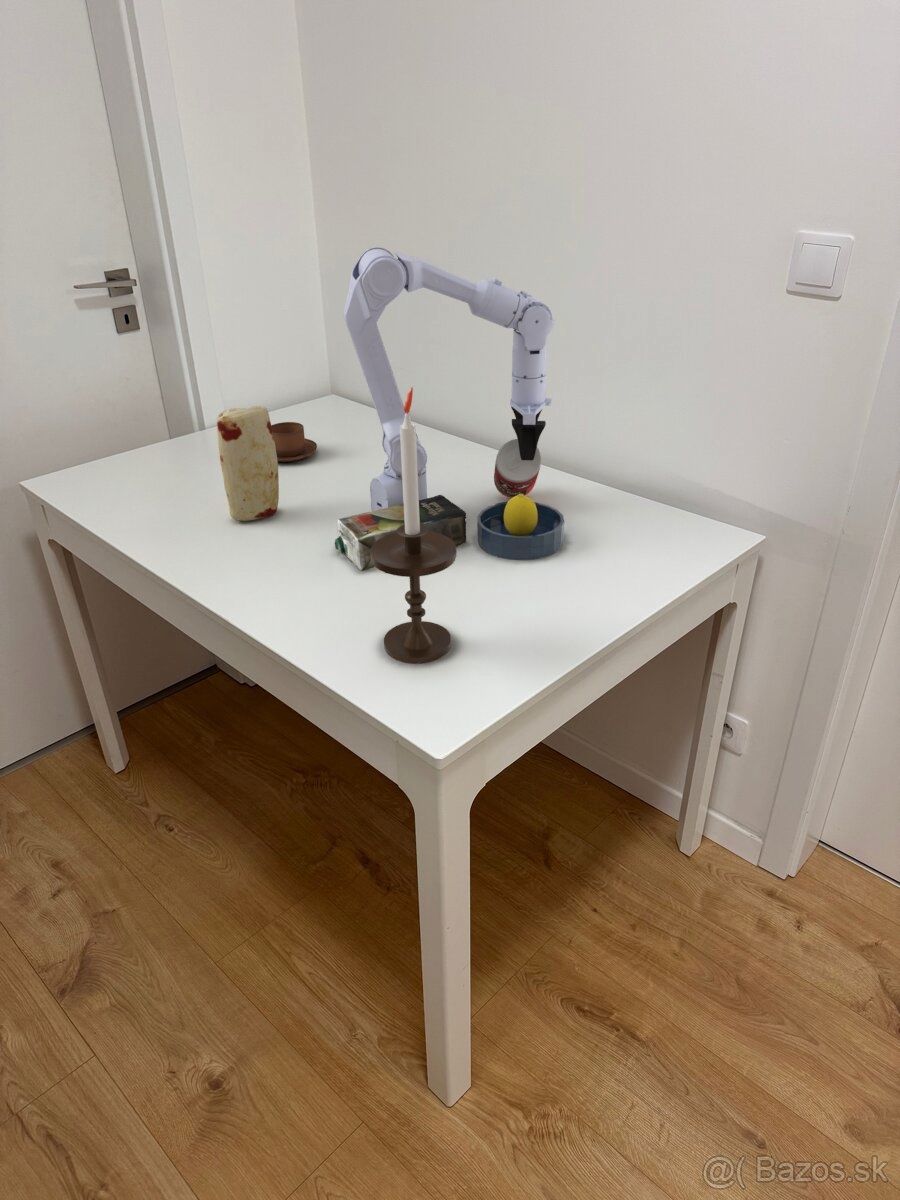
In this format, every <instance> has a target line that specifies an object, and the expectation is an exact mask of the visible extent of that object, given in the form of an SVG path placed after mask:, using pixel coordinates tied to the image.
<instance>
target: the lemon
mask: <svg viewBox="0 0 900 1200" xmlns="http://www.w3.org/2000/svg"><path fill="white" fill-rule="evenodd" d="M507 502H508V503H507V505H506V507H505V510H504V524H505V527H506V529H507V530H508V532H509V533H510V534H512V535H513V536H527V535H529V534H531V533H532V532H533V530H534V529H535V527H536V524H537V518H538V514H537V508H536V505H535V503H534V502H535V501H534V500H533V499H532V498H531V497H529V496H528V495H523V494H519V495H517V496H514V497H513V498H509V500H508V501H507Z"/></svg>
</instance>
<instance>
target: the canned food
mask: <svg viewBox="0 0 900 1200" xmlns="http://www.w3.org/2000/svg"><path fill="white" fill-rule="evenodd" d="M541 465H542V455H541V452H540V449H539V448H538V447H537V449H536V453H535V457H534V460H521V457H520V451H519V444H518V439H517V438H513V439H511V440H509V441H506V442H505V443H504V444H503V445H502V446H501V447H500V448H499V450H498V452H497V454H496V458H495V463H494V472H493V483H494V487H495V488H496V490H497V491H498V493H500V494H501V495H502V496H504V497H506V498H509V499H511V498H513V497H514V496H517V495H519V494H523V495H525V496H528V494H529V493H531V491H532V490H533V489H534V487H535V486H536V483H537V480H538V477H539V473H540V470H541Z"/></svg>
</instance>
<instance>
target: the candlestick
mask: <svg viewBox="0 0 900 1200" xmlns="http://www.w3.org/2000/svg"><path fill="white" fill-rule="evenodd" d="M413 392H414V387H413V386H411V387H410V391H409V392H408V393H407V395H406V401H405V402H404V411H405V413H406V414H405V419H404V423H403V424H402V425H400V441H401V461H402V481H403V501H404V520H405V525H402V526H400V527H399V528H398V529H397V533H392V534H389V535H386V536H384V537H382V538H380V539H379V540H377V541H376V542H375V543H374V544H373V545H372V547H371V550H370V555H371V562H372V564H373V565H374V568H375V569H376V570H379V571H380V572H383V573H384V574H388V575H390V576H391V575H392V576H396V577H397V576H398V577H404V578H408V579H409V590H407V591H405V594H404V599H405V601H406V603H407V604H408V605H409V608H408V609H407V610H406V615H407V617H409V618H411V619H410V621H408V622H407V621H406V622H403V623H400V624H397V625H396V626H394V627H391V629H389V630H388V631H387V632H386V634H385V635H384V638H383V648H384V651H385V653H386V654H387V656H388V657H390V658H391V659H393V660H395V661H398V662H400V663H405V664H416V665H417V664H426V663H431V662H434V661H437V660H439V659H441V658H443V657H444V656H446V654H448V653H449V652H450V650H451V647H452V635H451V633H450V632H449V630H448V629H447V628H446V627H444V626H443V625H441V624H438V623H436V622H431V621H426V620H425V621H423V619H422V618H423V617H425V615H426V609H425V608H424V607H423V604H424V603H425V601H426V600H427V593H426V592H425V591H424V590H422V589H421V577H425V576H430V575H434V574H437V573H440V572H442V571H444V570H447V569H448V568H450V567H451V566H452V565H453V564H454V563H455V561H456V559H457V546H456V545H455V543H454V542H453V541H452V540H451V539H450V538H448V537H447V536H445V535H442V534H439V533H436V532H431V531H428V528H427V527H426V526H424V525H422V524H420V520H419V496H418V471H417V446H416V434H417V425H416V424H415V423H413V422H412V419H411V415H410V411H411V407H412V402H413V394H414V393H413Z"/></svg>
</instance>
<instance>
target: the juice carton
mask: <svg viewBox="0 0 900 1200" xmlns="http://www.w3.org/2000/svg"><path fill="white" fill-rule="evenodd" d="M466 519H467V512H466V511H465V510H464V509H462V508H460V506H458V505H457V504H455V503H454V502H452V501H451V500H450V499H448V498H447V497H446V496H444V495H443V494H437V495H435V496H431V497H427V499H423V500H419V520H420V524H422V525H424V526H426V527H427V528H428V531H431V532H436V533H439V534H442V535H445V536H447V537H448V538H450V539H451V540H452V541H453V542H454V543H455V545H456V547H459V546H461V545H464V544H466V543H467V520H466ZM402 525H405V520H404V504H400V505H396V506H393V507H389V508H385V509H379V510H376V511H372V510H371V511H367V512H363V513H362V512H361V513H358V514H354V515H350V516H346V517H341V518H338V519H337V533H338V534H337V535H338V537H337V538H335V539H334V547H335V550H338V551H339V552H340V553H341V554H343V555H345V556H346V557H347V558H348V559H349V560H350V561H351V562H352V563H354V565H355V566H356V567H357V568H358V569H359V571H366V570H369V569H373V568H375V566H374V565H373V564H372V562H371V555H370V550H371V547H372V545H373V544H374V543H375V542H376V541H377V540H379V539H380V538H382V537H384V536H386V535H389V534H392V533H397V529H398V528H399V527H400V526H402Z"/></svg>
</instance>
